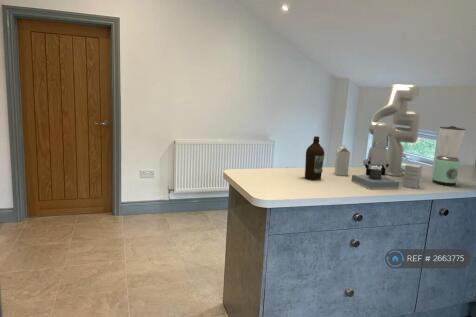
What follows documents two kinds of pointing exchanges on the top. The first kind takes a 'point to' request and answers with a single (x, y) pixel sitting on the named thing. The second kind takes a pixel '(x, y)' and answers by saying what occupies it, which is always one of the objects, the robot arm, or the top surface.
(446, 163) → the mint green blender
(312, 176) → the olive oil
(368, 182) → the socket plate
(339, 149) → the milk carton
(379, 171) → the plug
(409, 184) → the supplement box
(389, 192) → the top surface
